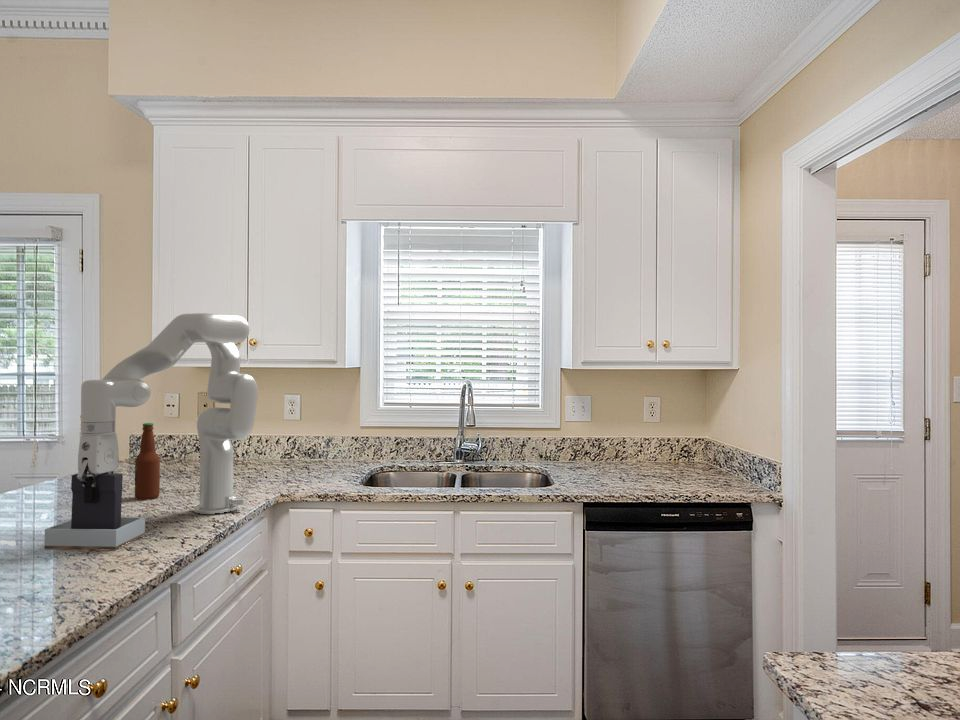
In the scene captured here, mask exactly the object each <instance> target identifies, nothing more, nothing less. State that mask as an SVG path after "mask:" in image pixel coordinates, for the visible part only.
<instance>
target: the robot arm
mask: <svg viewBox="0 0 960 720" xmlns="http://www.w3.org/2000/svg"><path fill="white" fill-rule="evenodd" d="M250 331H251V329H250V324H249V322H248V321H247V319H245V318H244V317H243V316H240V315H237V314H236V315H235V314H221V313H220V314H219V313H217V314H216V313H207V312H204V313H203V312H202V313H201V312H199V313H197V312H196V313H182V314H179V315H177V316H176V317H175V318H173V319H172V320H171V321H170V322H169V323H168V324H167V325H166V326H165V327H164V328H163V329H162V330H161V332H160V333H159V334H157V336H156V337H154V339H153V340H152V341H151V342H150V343H149V344H148V345H147V346H145V347H143V348H142V349H139V350H138V351H136V352H134V353H132V354H131V355H129V356H128V357H125V359H123V360H121V361H119V362H118V363H117V364H116V365H115V366H113V368H112V369H110V370H109V371H108V373H106V375H104V377H103V378H101V379H87V380H84V381H83V382H82V383H81V387H80V390H81V391H80V440H79V446H78V453H77V455H78V456H77V472H78V473H77V474H78V475H77V478H78V479H79V480H80V481H81V482H82V483H83V487H84V502H85V503H97V502H98V487H96V485H97V478H98V475H101V474H105V473H115V471H116V470H117V469H119V467H120V456H119V440H118V436H117V432H116V417H117V416H116V414H117V413H116V408H117V407H123V408H124V407H125V408H136V407H137V408H138V407H140V406H142V405H144V404H145V403H147V402H148V400H149V399H150V397H151V389H150V387H149V385H148V384H147V382H145V381H144V380H142V379H144V378H145V377H147V376H150V375H153V374H155V373H159V372H162V371H166V370H167V369H169V368H171V367H174V365H176V363H177V362H178V361H179V360H180V359H181V358H182V357H183V356H184V355H185V353H186V352H187V351H188V350H189V349H190V348H191V347H192V346H193V344H195V343H205V344H206V346H207V348H208V349H209V352H210V356H211V362H210V369H209V370H210V371H209V377H208V384H207V388H206V389H207V391H206V392H207V397H208V398H209V400H210V401H211V402H214V403H218V404H227V405H230V406H229V407H209V408H206V409H203V411H202V412H201V413H200V414H199V415H198V418H197V420H196V429H197V436H198V440H199V452H200V454H199V455H200V456H199V504H198V505H194V507H193V512H194V513H196V514H199V513H200V515H216V514H215V513H220V514H225V513H224V512H227V513H231V512H233V511H237V510H238V508H239V506H245V505H246V502H247V501H246V498H245V497H237V493H236V492H235V493H234V449H233V445H232V442H231V440H232V441H241V440H245V439H247V438H248V437H249V436H250V435H251V433H252V431H253V428H254V424H255V416H256V412H257V404H258V398H259V397H258V395H259V389H258V388H259V387H258V384H257V382H256V380H255V378H254V377H253V376H251V375H250V374H247V373H240V372H241V371H240V369H241V354H240V351H239V349H238V346H237V345H236V344H240V343H243V342H245V341H246V339H247V338H248V337H249V334H250ZM89 473H94V474H89ZM89 477H93V478H92V480H91V479H90V478H89ZM230 511H231V512H230Z"/></svg>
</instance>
